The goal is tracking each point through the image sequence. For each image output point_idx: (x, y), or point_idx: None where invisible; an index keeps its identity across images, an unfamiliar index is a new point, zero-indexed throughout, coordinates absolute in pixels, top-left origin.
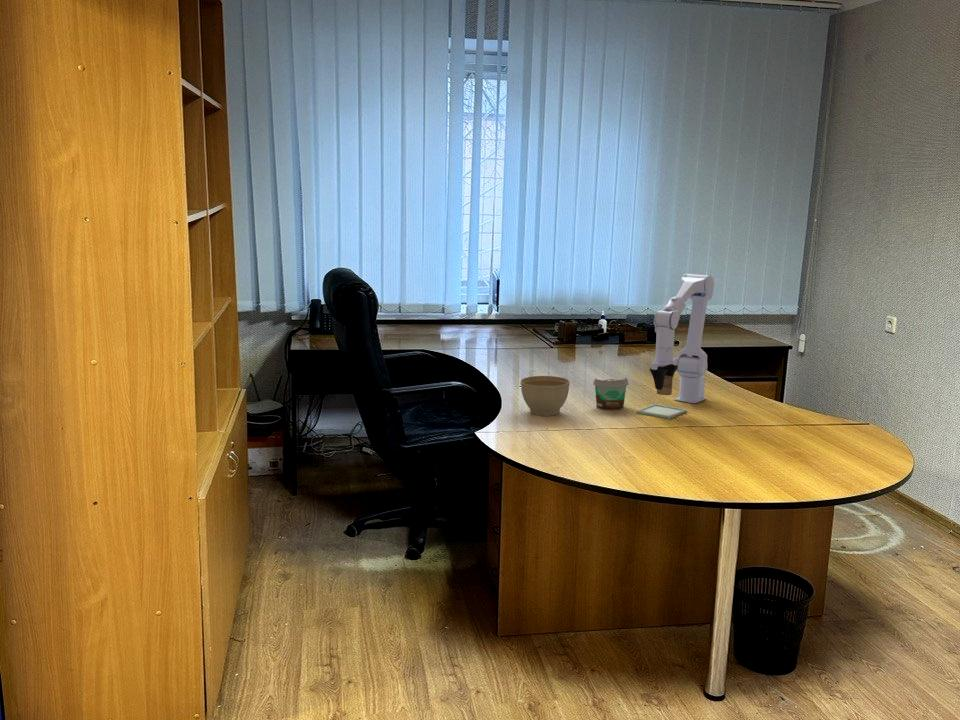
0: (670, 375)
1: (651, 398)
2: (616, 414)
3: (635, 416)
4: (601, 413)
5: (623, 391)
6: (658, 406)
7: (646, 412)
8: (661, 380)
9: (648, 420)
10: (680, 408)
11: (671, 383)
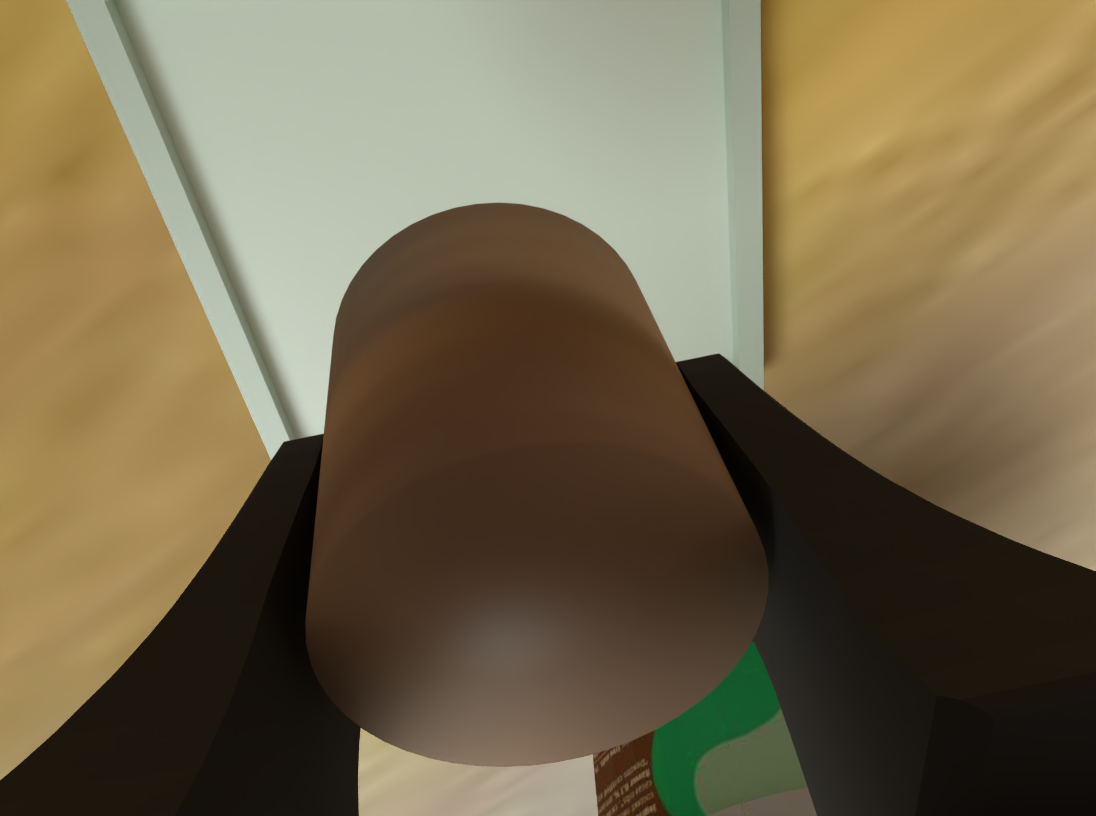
0: (272, 663)
1: (39, 696)
2: (964, 446)
3: (920, 274)
4: (1013, 539)
5: (767, 733)
6: (294, 413)
7: (760, 264)
8: (871, 483)
9: (1027, 15)
10: (122, 95)
11: (478, 348)
